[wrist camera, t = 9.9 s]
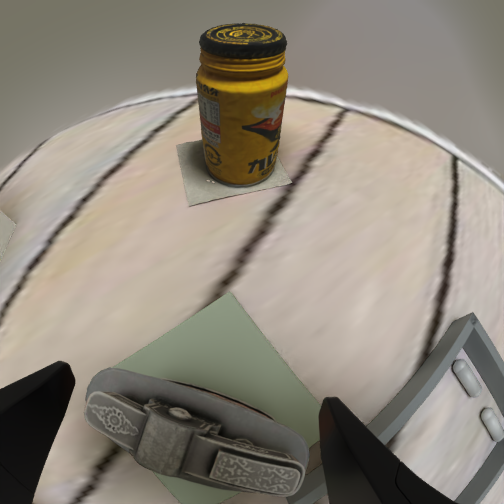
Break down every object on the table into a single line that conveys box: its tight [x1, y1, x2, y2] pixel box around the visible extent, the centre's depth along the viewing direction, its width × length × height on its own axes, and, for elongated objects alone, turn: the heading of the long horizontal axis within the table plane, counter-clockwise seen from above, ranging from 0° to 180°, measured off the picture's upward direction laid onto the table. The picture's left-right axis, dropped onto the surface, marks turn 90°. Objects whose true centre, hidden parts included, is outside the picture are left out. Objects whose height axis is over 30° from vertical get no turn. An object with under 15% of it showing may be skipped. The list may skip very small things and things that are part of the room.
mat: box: [112, 292, 321, 504], centre depth 14 cm, size 11×11×1 cm
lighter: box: [84, 368, 310, 497], centre depth 9 cm, size 8×3×10 cm, turn 73°
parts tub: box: [286, 312, 504, 504], centre depth 11 cm, size 15×18×2 cm
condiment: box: [176, 23, 292, 206], centre depth 18 cm, size 7×8×12 cm
